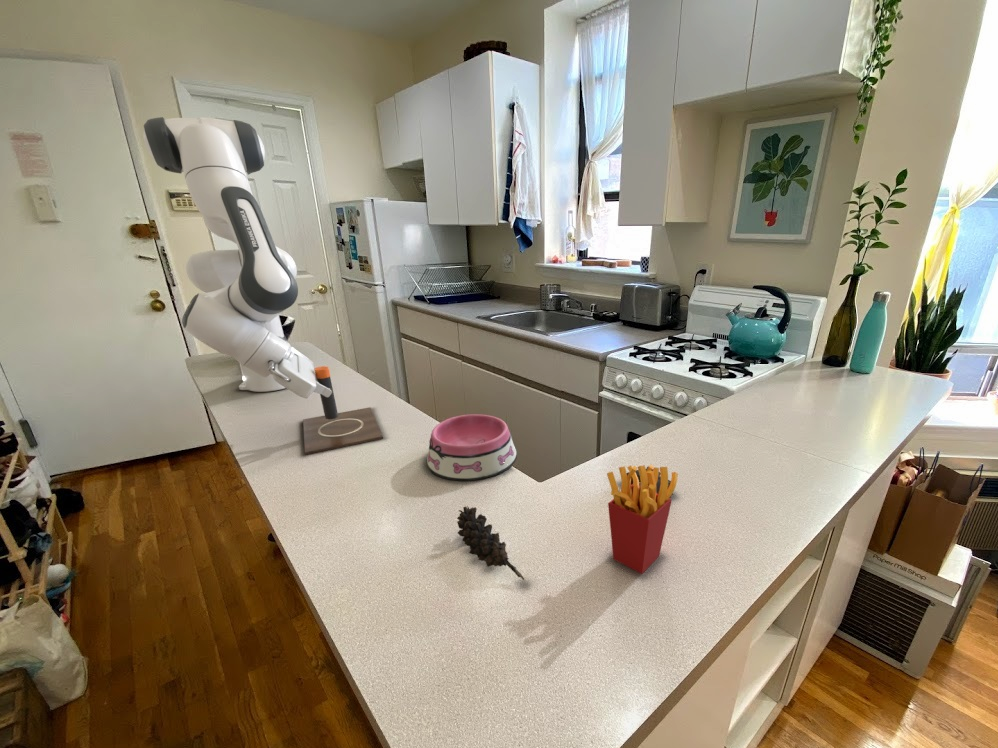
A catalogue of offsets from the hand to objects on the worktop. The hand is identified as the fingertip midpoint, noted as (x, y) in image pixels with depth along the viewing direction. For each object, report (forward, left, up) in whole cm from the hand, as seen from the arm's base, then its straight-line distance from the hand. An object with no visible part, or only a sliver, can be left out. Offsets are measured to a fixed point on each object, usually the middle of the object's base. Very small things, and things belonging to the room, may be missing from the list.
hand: (329, 391), depth 106 cm
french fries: (+69, +36, -10) cm, 78 cm away
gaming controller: (+57, +48, -10) cm, 75 cm away
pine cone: (+59, +17, -10) cm, 62 cm away
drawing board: (0, +1, -10) cm, 10 cm away
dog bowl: (+29, +24, -10) cm, 39 cm away
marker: (0, -1, -6) cm, 6 cm away
